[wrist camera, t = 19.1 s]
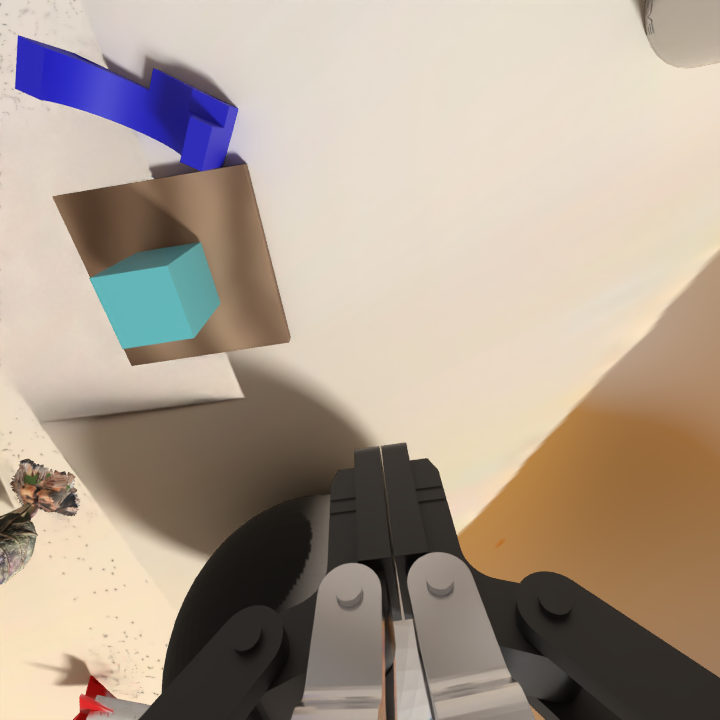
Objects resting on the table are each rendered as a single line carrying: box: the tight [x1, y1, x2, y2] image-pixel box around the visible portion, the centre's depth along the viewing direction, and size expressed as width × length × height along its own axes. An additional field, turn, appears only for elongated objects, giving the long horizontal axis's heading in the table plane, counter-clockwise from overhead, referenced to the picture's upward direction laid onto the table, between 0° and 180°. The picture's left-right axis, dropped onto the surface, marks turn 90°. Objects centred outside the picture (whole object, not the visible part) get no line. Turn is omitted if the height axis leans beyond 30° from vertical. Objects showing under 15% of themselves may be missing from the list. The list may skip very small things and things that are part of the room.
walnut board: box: [53, 164, 290, 366], centre depth 38 cm, size 16×16×1 cm
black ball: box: [162, 494, 432, 720], centre depth 42 cm, size 30×30×30 cm
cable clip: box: [15, 35, 238, 171], centre depth 30 cm, size 12×4×6 cm, turn 66°
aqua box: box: [89, 242, 221, 349], centre depth 33 cm, size 6×6×8 cm
